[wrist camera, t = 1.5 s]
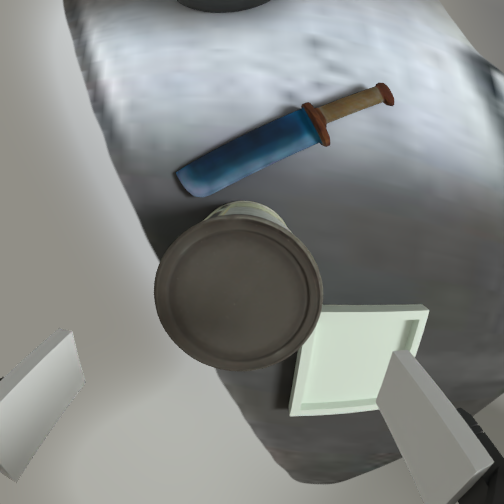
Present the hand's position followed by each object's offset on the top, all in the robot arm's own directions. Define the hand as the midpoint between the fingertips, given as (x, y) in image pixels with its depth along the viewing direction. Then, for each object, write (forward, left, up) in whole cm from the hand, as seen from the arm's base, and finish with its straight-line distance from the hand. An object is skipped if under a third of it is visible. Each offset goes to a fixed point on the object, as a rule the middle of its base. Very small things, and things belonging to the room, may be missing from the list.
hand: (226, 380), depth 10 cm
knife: (-12, +4, -21) cm, 25 cm away
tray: (+14, +15, -21) cm, 29 cm away
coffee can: (0, 0, -21) cm, 21 cm away
